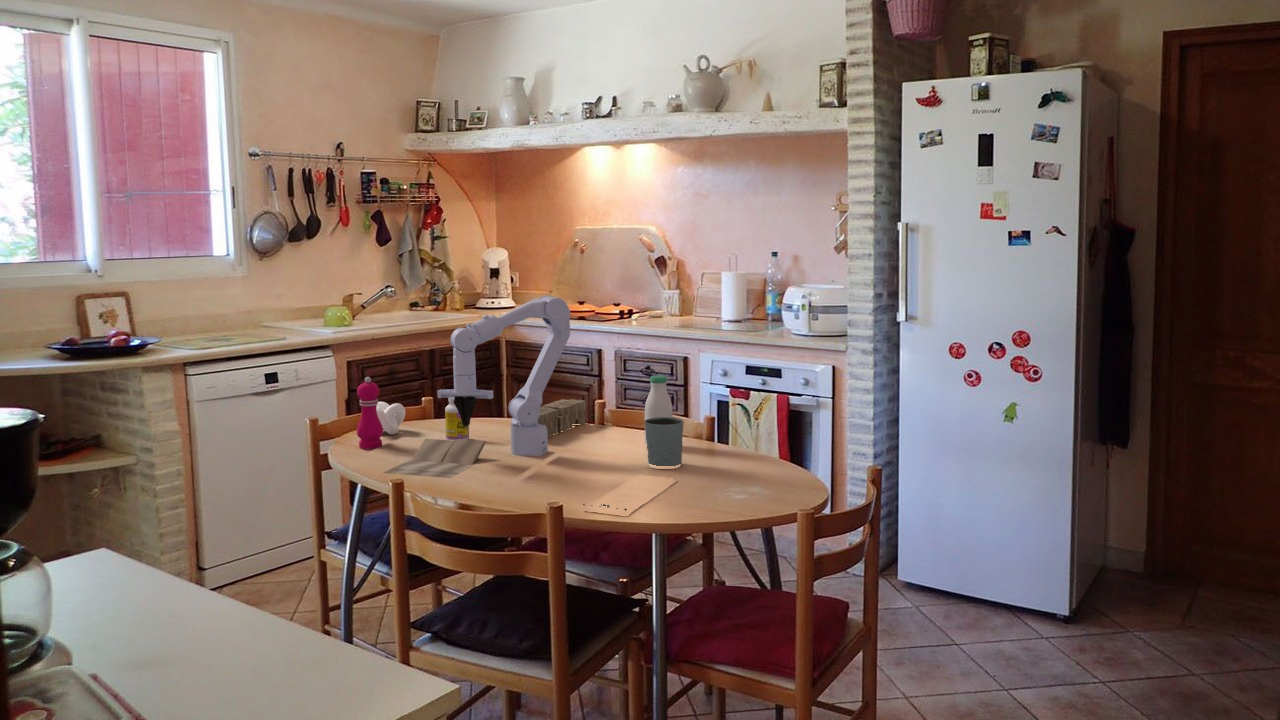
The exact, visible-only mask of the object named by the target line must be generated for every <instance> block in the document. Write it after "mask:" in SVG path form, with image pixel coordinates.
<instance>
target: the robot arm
mask: <svg viewBox="0 0 1280 720" xmlns="http://www.w3.org/2000/svg"><path fill="white" fill-rule="evenodd" d="M570 316H571V310H570V308H569V306H568V303H567V302H566V300H564V299H562V298H560V297H554V296H552V295H549V294H547V295H542V296H540V297H537V298H533V299H531V300H529V301H527V302H526V303H524V304H522V305H519V306H517V307H515V308H513V309H512V310H510V311H507V312H506V313H503V314H502V315H499V316H495V315H494V314H493V315H492V314H490V315H487V314H484V315H483V316H481V318H482V319H480V320H477V321H475V322H473V323H468V322H467V324H465V326H466V327H457V328H456V329H455V330H453V332H452V333H451V336H450V338H449V343H450V345H451V346H452V347H453V348H452V349H453V351H452V354H453V356H452V363H453V368H452V369H453V388H451V389H448V388H447V389H439V390H437V398H438V399H443V398H447V399H448V398H455V399H454V401H453V402H454V404H455V406H456V408H457V410H458V412H459V414H460V417H461V420H462V425H463V426H468V425H469V426H470V425H471V419H472V415H473V411H474V408H475V406H476V404H477V401H478V399H487V400H492V399H494V390H486V389H478V388H477V375H476V374H477V373H476V369H477V368H476V355H475V354H476V353H475V352H476V351H475V349H476V348H477V346H478V345H481V344H484V343H485V342H488V341H490V340H493V339H495V338H496V337H499V336H501V335H502V333H503V330H504V329H505V328H507V327H510V326H512V325H515V324H517V323H520V322H522V321H524V320H527V319H530V318H537V319H538V318H539V319H542V321H544V323H545V326H546V328H547V330H548V333H549V334H548V336H547V338H546V341H545V343H544V344H543V347H542V349H541V350H540V353H539V355H538V358H537V359H536V361H535V364H534V366H533V368H532V370H531V372H530V374H529V376H528V378H527V381H526V383H525V385H524V386H523V387H521V388H520V390H518V392H517V394H516V395H515V396H514V398H512V399H511V400H510V401H509V403H508V413H509V415H510V416H511V421H510V441H511V442H510V444H511V445H510V446H511V448H510V450H511V455H514V456H524V457H525V456H526V457H527V456H528V457H529V456H530V457H541V456H543V455H544V454H545V453H548V452H549V449H548V447H549V441H548V435H547V428H546V426H545V425H540V424H538V418H539V416H540V407H542V404H543V393H544V391H545V389H546V387H547V384H548V383H549V381H550V378H551V376H552V375H553V372H554V370H555V368H556V366H557V365H558V362H559V359H560V357H561V355H562V353H563V351H564V349H565V347H566V345H567V342H568V340H569V338H570V335H571V324H570V323H571V321H570V319H571V317H570ZM512 417H513V418H512Z"/></svg>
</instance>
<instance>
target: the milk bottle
mask: <svg viewBox="0 0 1280 720" xmlns="http://www.w3.org/2000/svg"><path fill="white" fill-rule="evenodd" d="M649 378H650V379H649V380H650V381H649V382H650V384H649V385H650V390H649V394H648V396H647V398H646V400H645V404H644V421H645V420H647V419H650V418H657V417H673V405H672V404H673V403H672V401H671V400H672V399H671V398H670V395H669V393H668V390H667V382H668V378H667V376H666V375H660V374H659V375H658V374H656V375H651V376H650V377H649ZM645 444H647V440H646V431H645V430H644V445H645Z"/></svg>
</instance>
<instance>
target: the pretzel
mask: <svg viewBox="0 0 1280 720" xmlns="http://www.w3.org/2000/svg"><path fill="white" fill-rule="evenodd" d="M376 410H377V415H378V418H379V420H380V422H381V424H382V427H383V431H385V432H386V433H387V434H389V435H392V436H394V435H397V434H398V432H399V426H401V424H402V423H403V422H404V420H405V416H406V408H405V407H404V406H403V404H401V403H392V404H391V405H390V404H389V403H387V402H385V401H378V404H377V407H376Z"/></svg>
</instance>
